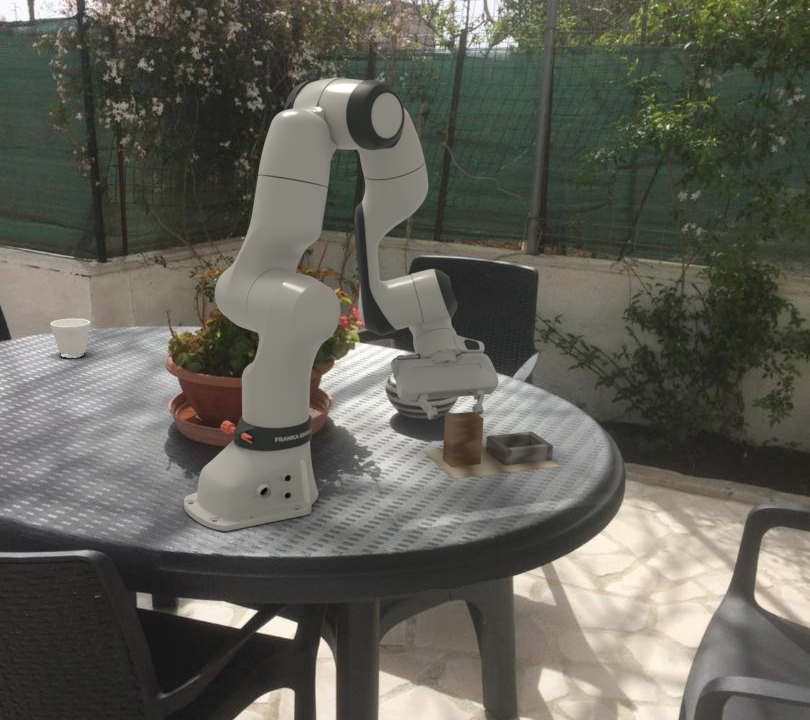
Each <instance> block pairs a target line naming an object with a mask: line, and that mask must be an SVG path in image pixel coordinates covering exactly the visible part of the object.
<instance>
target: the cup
mask: <svg viewBox="0 0 810 720" xmlns="http://www.w3.org/2000/svg"><path fill="white" fill-rule="evenodd" d="M50 329H51V331H52V333H53V337H54V340H55V343H56V346H57V349H58V352H60V353H61V354H68V355H76V354H82V353H84V352H85V353H86V351H87V346H88V339H89V334H90V329H91V321H90V320H88V319H86V318H62V319H61V318H60V319H55V320H52V321H50ZM60 353H59V354H60Z"/></svg>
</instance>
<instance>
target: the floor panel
mask: <svg viewBox="0 0 810 720" xmlns="http://www.w3.org/2000/svg"><path fill="white" fill-rule="evenodd" d="M553 447H554V445H553V444H551V443H550V442H548V441H547V440H545V439H544V438H542V437H541V436H539V435H538V434H537V433H535V432H533V431H525V432H514V433H506V434H505V433H503V434H495V435H494V434H493V435H486V443H485V444H482V451H481V464H476V465H467V466H458V467H450V466H449V465H448V464H447V463H446V462H445V461H444V460H443V448H440V449H439V448H438V449H431V450H423V451H422V452H423V453H424V454H425V455H426V456H428V458H429V459H430V460H432V461H433V463H435V464H436V465H437V466H438V467H439V468H440V469H441V470H442V471H443V472H444V473H445V474H446V475H447V476H448V477H449V478H450V479H452V480H454V479H456V480H457V479H464V478H465V479H466V478H473V477H481V476H490V475H499V474H507V473H508V474H509V473H515V472H524V471H525V472H526V471H531V470H541V469H550V468H558V467H560V465H559V464H558V463H556V462H555V461H553V460H552V459H553Z"/></svg>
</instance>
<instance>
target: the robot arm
mask: <svg viewBox="0 0 810 720" xmlns="http://www.w3.org/2000/svg"><path fill="white" fill-rule="evenodd" d="M337 149H338V150H347V151H348V150H349V151H350V150H351V151H352V150H356V151H357V153H358V155H359V158H360V164H361V169H362V170H361V171H362V173H363V178H364V183H365V184H364V185H365V188H364V193H363V199H362V201H361V202H360V203H359V204H358V205H356V207H355V210H354V241H355V253H356V266H357V274H358V285H359V287H358V288H359V296H358V305H357V307H358V313H359V317H360V321H361V324H362V325H363V326H364V328H365V329H366V330H367V331H369V332H371V333H372V334H375V335H378V336H379V337H380V336H381V337H385V336H387V335H389V334H391V333H395V332H397V331H398V330H403V329H406V328H409V332H411V334H412V337H413V338H412V339H413V340H412V344H413V348H414V352H415V353H413V354H406V355H405V354H404V355H403V354H400V355H399V354H398V355H397V356H396V357H394V358H393V359H392V360H391V363H390V366H391V370H392V373H393V375H395V386H396V392H397V393H396V394H397V398H399V399H400V400H401V401H402V402H412V401H414V402H415V401H417V403H418V404H417V405H418V406H419V407H420V408H421V409H422V410H423V411H424V412H425V413H426V415H427V419H428V420H437V419H438V417H439V413H438V409H437V406H435V407H434V406H432V405H431V404H430V403H429V402H428V401H429V400H436V399H448V398H460V397H471V396H472V397H473V399H474V400H475V401H476V403H474V404H473V405H472V407H471V409H472V412H476V413H477V414H478V415H480V416H482V415H483V414H484V411H485V410H484V406H483V403H484V402H483V401H484V398H485V395H491V394H493V393H494V391H496V389H497V387H498V385H499V377H498V375H497V371H496V369H495V365H494V364H493V363H492V360H491V358H490V357H489V356H488V355H487V354H485V353H484V352H485V344H484V343H483V342H482V341H480V340H476V339H473V338H472V339H471V338H468V337H464V336H461V335H458V333H457V331H456V330H455V329H454V327H453V325H452V318H453V317H454V315H455V313H456V311H457V309H458V302H457V299H456V296H455V293H454V291H453V289H452V282H451V278H450V276H449V275H448V274H446V273H445V272H443V271H442V270H439V269H436V268H431V269H426V270H425V269H424V270H421V271H418V272H413V273H410V274H408V275H404V276H401V277H396V278H393V279H392V278H391V279H389V280H382V279H380V265H379V252H378V251H379V246H380V245H379V244H380V242H381V241H382V239H383V238H384V237H385V235H387V234H388V233H389V232H390V231H392V230H393V229H394V228H395V227H396V226H398V225H399V224H401V223H402V222H404V221H405V220H407V219H408V218H410V217H411V216H412V215H413V214H415V212H417V210H419V208H420V207H421V205H422V204H423V203H424V201H425V199H426V197H427V196H428V195H427V194H428V191H429V179H428V171H427V166H426V165H427V164H426V161H425V156H424V152H423V149H422V144H421V141H420V138H419V135H418V133H417V130H416V128H415V124H414V122H413V120H412V118H411V116H410V113H409V112H408V110H407V109H405V107H404V105H403V102H402V99H401V97H400V95H399V93H397V90H395V88H394V87H392V86H391V85H389V84H387V83H385V82H382V81H379V80H375V79H367V80H364V79H363V80H361V79H355V78H354V79H353V78H352V79H351V78H346V77H331V78H324V79H320V78H319V79H318V78H317V79H316V78H315V79H309V80H307V81H304V82H301V83H299V84H297V85H296V86H295V87H294V88H293V89H292V91H290V94H289V95H288V97H287V100H286V102H285V105H284V109H283V110H282V111H280V112H278V113H277V114H276V115H275V116H274V117H273V118H272V121H271V123H270V126H269V128H268V130H267V134H266V138H265V140H264V145H263V149H262V152H261V157H260V161H259V166H258V173H257V175H258V176H257V180H256V187H255V193H254V200H253V207H252V213H251V218H250V223H249V227H248V229H247V232H246V236H245V239H244V240H243V243H242V245H241V248H240V250H239V252H238V255H237V256H236V258H235V260H234V261H233V263H231V265H230V266H229V267H228V268H227V269H226V270H224V271H223V272H222V273H221V275H220V276H219V278H218V280H217V282H216V285H215V288H214V301H215V304H216V306H217V308H218V310H219V311H220V313H221V314H222V315H223V316H224V317H226V318H227V319H228V320H229V321H231V322H232V323H233V324H235V325H236V326H238V327H240V328H243V329H245V330H248V331H252V332H254V333H257V334H258V346H257V350H256V353H255V357H254V360H253V361H252V362H251V363H249V364H248V365H247V366H246V367H244V369H243V372H242V374H241V405H242V406H241V408H242V409H241V412H242V415H241V416H240V418H239V420H238V422H237V425H236V424H235V423H232V422H231V421H229V420H224V421H223V422H222V423H221V424H220V430H221V432H223V433H225V434H226V435H229V436H232V435H233V436H232V441H231V442H229V444H228V445H226V446H225V447H224V448H223V449H222V450H221V451H220V452H219V453H218V454H217V455H216V456H215V457H214V458H213V459H212V460H210V461H209V462H208V463H207V464H205V465H204V466H203V468H202V469H201V471H200V474H199V477H198V483H197V484H198V485H197V489H196V490H197V491H195V492H193V493H191V494H188V495H186V496H185V497H184V499H183V508H184V510H185V513H187V514H188V516H189V517H190V518H192V520H195V521H196V522H197V523H199V524H201V525H203V526H205V527H208V528H210V529H213V530H218V531H223V532H227V531H233V530H239V529H243V528H249V527H253V526H254V527H255V526H257V525H263V524H269V523H273V522H279V521H282V520H287V519H293V518H297V517H298V518H299V517H302V516H308V515H310V514H312V508H313V507H312V506H313V505H314V503H315V502H316V501H317V500H318V498H319V496H320V495H319V491H318V487H317V484H316V481H315V476H314V475H315V474H314V470H313V463H312V453H311V443H312V437H313V422H312V421H313V419H312V416H311V414H310V399H311V398H310V397H311V379H312V378H311V375H312V370H313V366H314V362H315V359H316V357H317V353H318V351H319V350H320V347H321V346H322V345H323V344H324V343H325V342H327V341H328V340H329V339H330V338H331V337H332V336H333V334H334V333H335V332H336V330H337V328H338V325H339V322H340V319H341V315H342V314H341V312H342V311H341V309H342V308H341V302H340V299H339V297H338V295H337V293H336V292H335V291H334V290H333V289H332V288H331V287H329V286H328V285H326V284H325V283H323V282H322V281H320V280H318V279H317V278H315V277H313V276H311V275H307V274H303V273H299V272H296V271H297V268H298V266H299V263H300V261H301V259H302V257H303V254H305V252H306V250H307V249H308V248H309V247H310V246H311V245H313V244H314V243H315V242H317V241H318V239H319V238H320V236H321V233H322V230H323V224H324V216H325V210H326V202H327V198H328V197H327V195H328V189H329V183H330V173H331V172H330V171H331V160H332V157H333V156H334V153H335V152H336V151H337Z"/></svg>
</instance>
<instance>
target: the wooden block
mask: <svg viewBox="0 0 810 720" xmlns="http://www.w3.org/2000/svg"><path fill="white" fill-rule="evenodd" d="M443 427H444V429H443V448H442V449H443V460H444V461H445V462H446V463H447V464H448V465H449V466H450V467H458V466H467V465H476V464H481V451H482V445H483V435H484V434H483V432H484V418H483V416H482V415H478V414H477V413H476V412H473V411H466V412H456V413H455V412H454V413H446V414H444V426H443Z"/></svg>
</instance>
